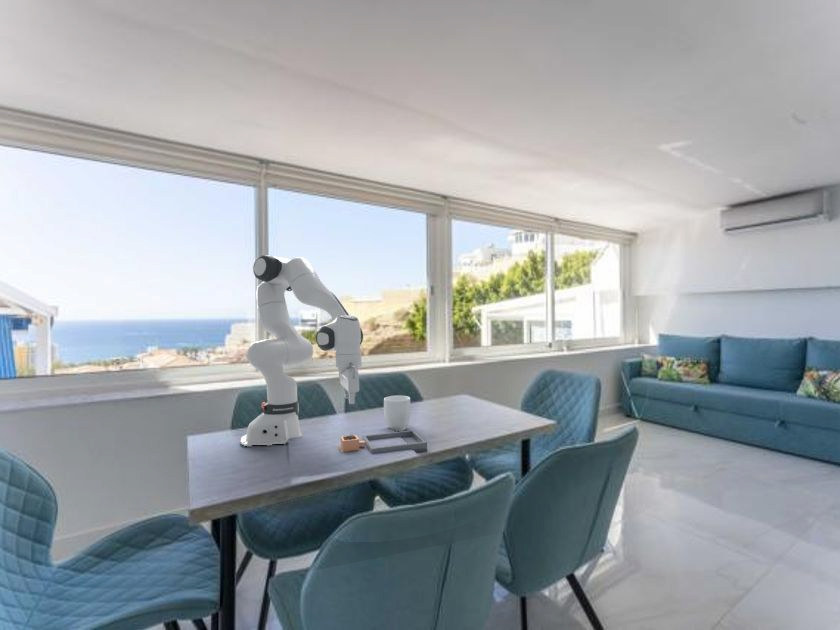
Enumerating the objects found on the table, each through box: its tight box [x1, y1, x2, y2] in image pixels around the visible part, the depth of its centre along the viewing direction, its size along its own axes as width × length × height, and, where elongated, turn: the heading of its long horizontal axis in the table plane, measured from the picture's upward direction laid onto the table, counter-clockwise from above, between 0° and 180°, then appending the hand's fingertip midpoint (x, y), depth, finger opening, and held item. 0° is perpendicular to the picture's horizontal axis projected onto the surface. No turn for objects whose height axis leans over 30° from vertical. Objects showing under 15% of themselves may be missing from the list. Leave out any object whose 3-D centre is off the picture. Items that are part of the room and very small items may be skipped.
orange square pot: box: [338, 433, 362, 453], centre depth 150 cm, size 7×7×6 cm
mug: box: [383, 395, 411, 432], centre depth 179 cm, size 15×11×13 cm
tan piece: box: [340, 434, 366, 453], centre depth 150 cm, size 8×6×4 cm
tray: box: [361, 429, 428, 454], centre depth 155 cm, size 20×16×3 cm
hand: (349, 400), depth 149 cm, fingers open, 8 cm apart
